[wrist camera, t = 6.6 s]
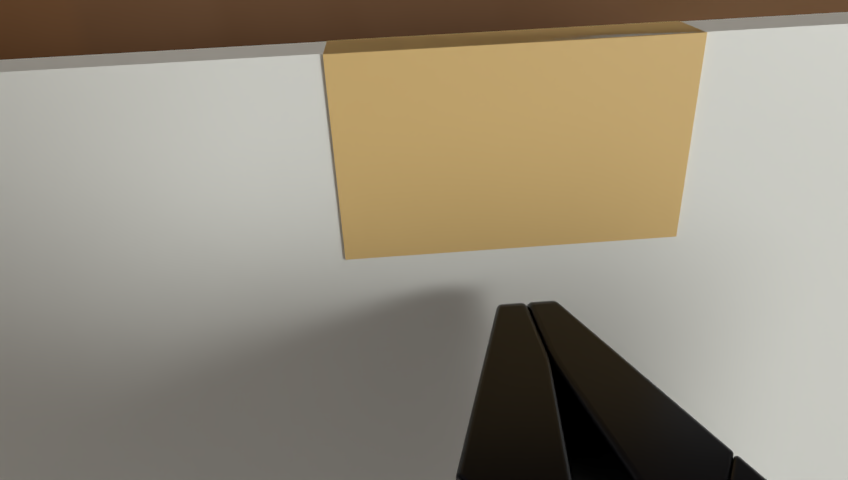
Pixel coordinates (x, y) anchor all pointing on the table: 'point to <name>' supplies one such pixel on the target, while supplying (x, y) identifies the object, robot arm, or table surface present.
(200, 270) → the flap
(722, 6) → the table surface
